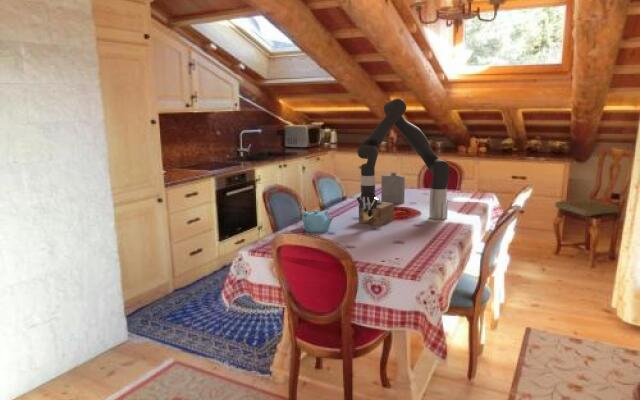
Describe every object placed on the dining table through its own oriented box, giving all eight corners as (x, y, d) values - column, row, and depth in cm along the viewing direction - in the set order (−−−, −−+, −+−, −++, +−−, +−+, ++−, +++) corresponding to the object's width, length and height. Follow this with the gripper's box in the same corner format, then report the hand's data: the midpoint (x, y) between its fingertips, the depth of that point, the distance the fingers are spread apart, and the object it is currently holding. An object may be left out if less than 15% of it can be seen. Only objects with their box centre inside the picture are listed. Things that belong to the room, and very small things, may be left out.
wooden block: (372, 217, 253) (371, 210, 252) (367, 220, 250) (366, 213, 249) (369, 216, 255) (368, 209, 253) (363, 220, 251) (363, 212, 250)
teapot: (329, 225, 261) (329, 206, 259) (333, 233, 246) (332, 212, 244) (301, 227, 259) (300, 207, 257) (303, 234, 245) (302, 214, 242)
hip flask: (380, 201, 318) (380, 171, 314) (382, 200, 322) (383, 170, 317) (403, 203, 310) (403, 173, 306) (405, 202, 314) (406, 172, 310)
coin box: (393, 220, 269) (393, 203, 266) (380, 226, 258) (380, 208, 256) (372, 217, 277) (372, 200, 275) (358, 222, 267) (358, 204, 264)
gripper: (383, 183, 247) (383, 216, 251) (360, 181, 256) (361, 213, 259) (375, 186, 241) (375, 219, 245) (352, 183, 250) (353, 216, 253)
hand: (368, 216), depth 252 cm, fingers closed on wooden block, 1 cm apart
